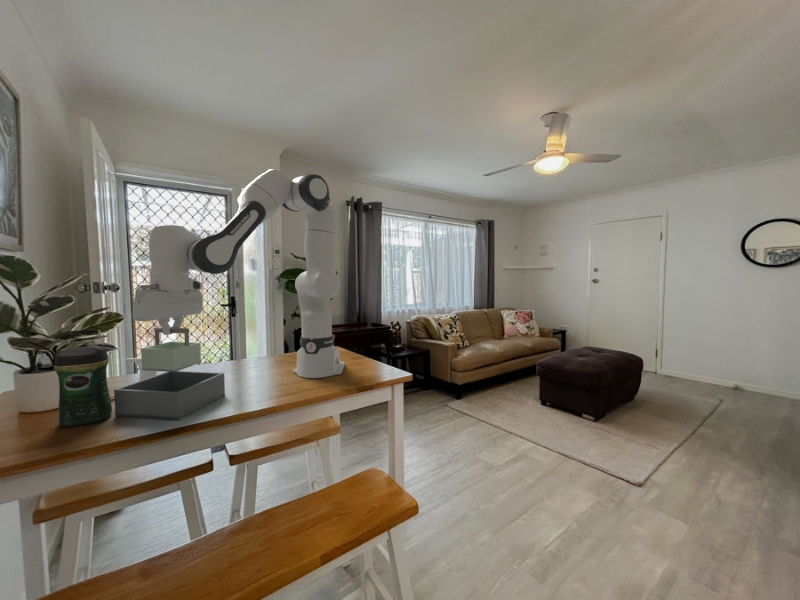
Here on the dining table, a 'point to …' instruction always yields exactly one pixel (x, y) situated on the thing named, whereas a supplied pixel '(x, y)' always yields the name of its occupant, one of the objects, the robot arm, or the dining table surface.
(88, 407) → the coffee jar
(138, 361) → the white curved piece
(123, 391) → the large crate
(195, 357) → the box
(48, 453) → the dining table surface
